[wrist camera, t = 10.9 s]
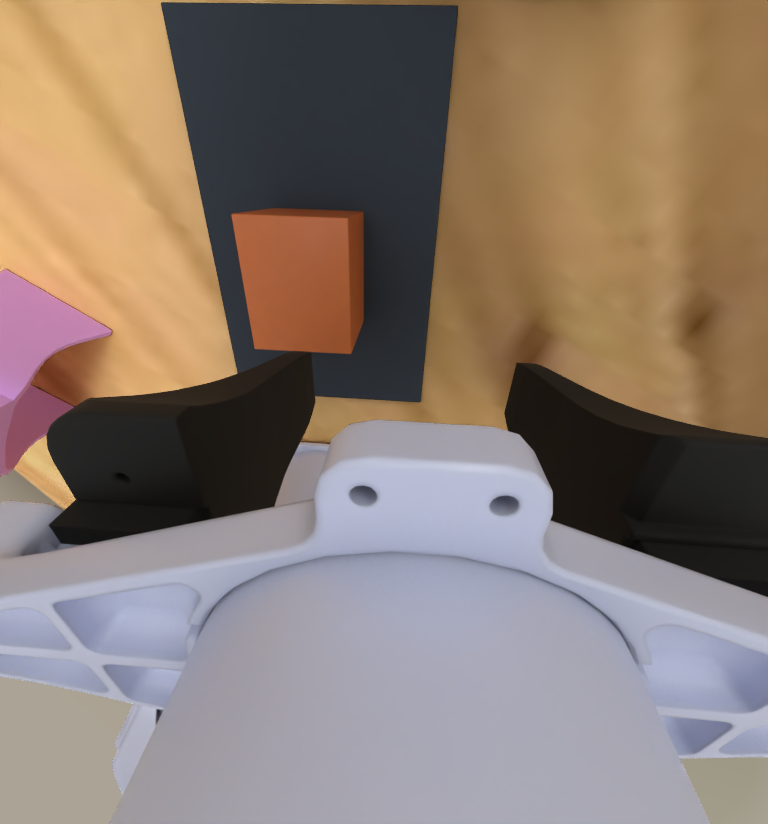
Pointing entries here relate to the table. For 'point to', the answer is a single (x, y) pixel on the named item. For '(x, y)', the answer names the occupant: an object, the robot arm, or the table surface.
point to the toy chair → (32, 361)
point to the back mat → (325, 156)
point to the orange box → (302, 277)
